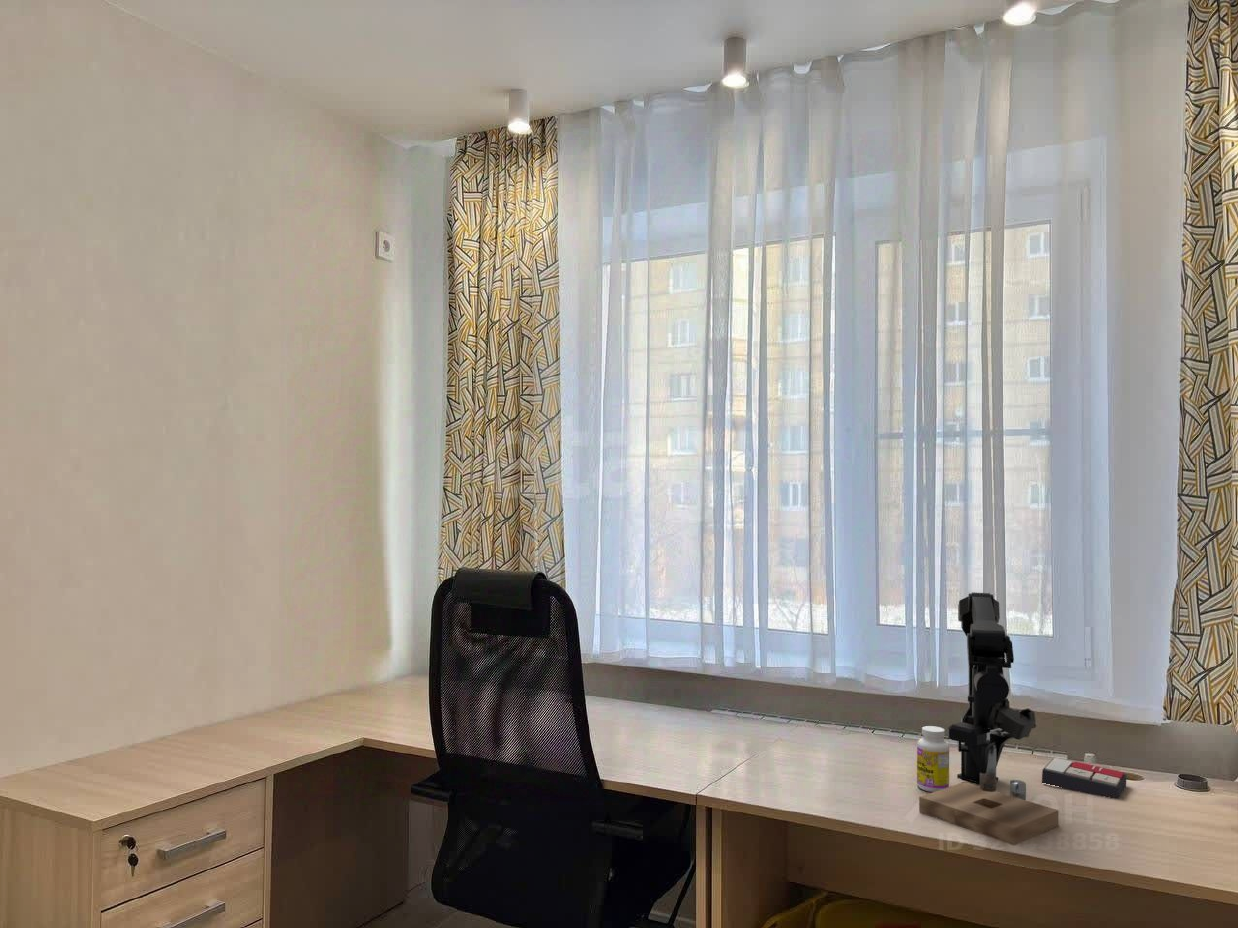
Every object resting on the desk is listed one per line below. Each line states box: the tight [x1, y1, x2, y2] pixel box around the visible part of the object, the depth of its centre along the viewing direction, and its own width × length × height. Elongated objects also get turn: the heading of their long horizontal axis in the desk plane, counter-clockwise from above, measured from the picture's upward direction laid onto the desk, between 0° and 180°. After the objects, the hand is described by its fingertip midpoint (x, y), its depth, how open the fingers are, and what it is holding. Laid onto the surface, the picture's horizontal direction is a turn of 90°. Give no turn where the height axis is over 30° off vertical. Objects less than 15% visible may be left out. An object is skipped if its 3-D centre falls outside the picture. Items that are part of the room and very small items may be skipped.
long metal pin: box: [979, 743, 997, 792], centre depth 176 cm, size 3×3×9 cm
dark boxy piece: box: [1041, 757, 1127, 800], centre depth 196 cm, size 11×4×15 cm
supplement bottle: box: [916, 725, 950, 793], centre depth 193 cm, size 7×7×13 cm
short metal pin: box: [1009, 779, 1027, 801], centre depth 184 cm, size 3×3×4 cm
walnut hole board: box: [918, 781, 1060, 845], centre depth 175 cm, size 20×16×3 cm
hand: (987, 771), depth 176 cm, fingers closed on long metal pin, 3 cm apart
